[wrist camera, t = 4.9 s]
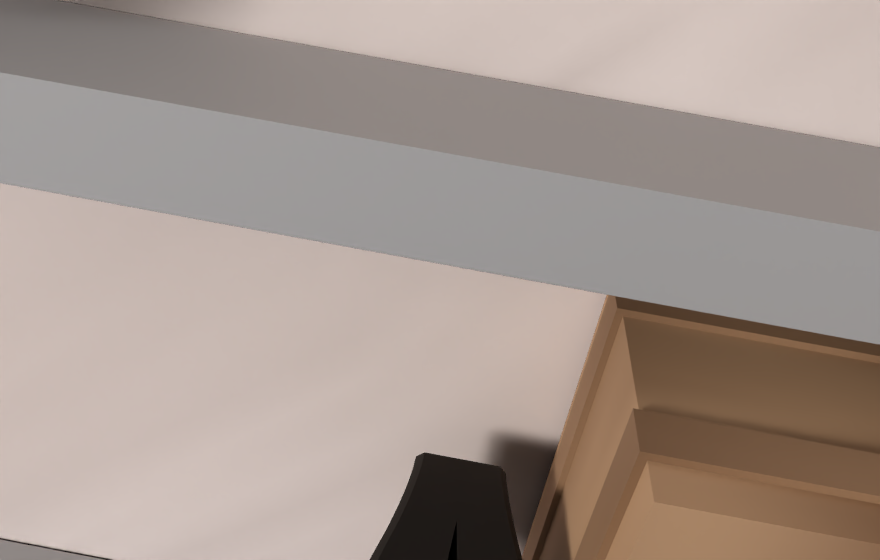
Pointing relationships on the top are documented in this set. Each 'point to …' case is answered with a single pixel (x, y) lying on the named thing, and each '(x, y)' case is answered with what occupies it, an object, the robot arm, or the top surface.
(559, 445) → the tan cardboard box
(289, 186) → the bay
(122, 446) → the top surface
